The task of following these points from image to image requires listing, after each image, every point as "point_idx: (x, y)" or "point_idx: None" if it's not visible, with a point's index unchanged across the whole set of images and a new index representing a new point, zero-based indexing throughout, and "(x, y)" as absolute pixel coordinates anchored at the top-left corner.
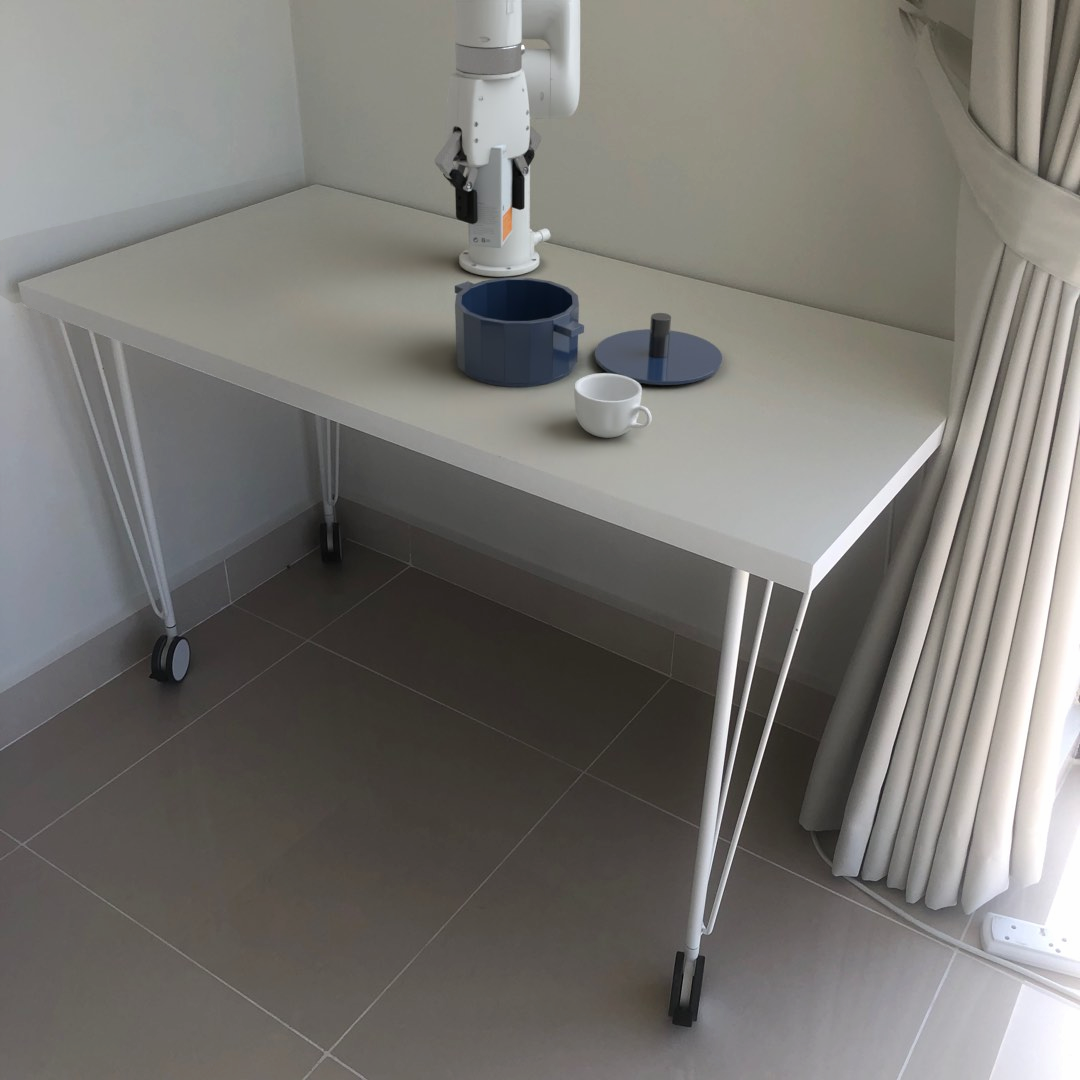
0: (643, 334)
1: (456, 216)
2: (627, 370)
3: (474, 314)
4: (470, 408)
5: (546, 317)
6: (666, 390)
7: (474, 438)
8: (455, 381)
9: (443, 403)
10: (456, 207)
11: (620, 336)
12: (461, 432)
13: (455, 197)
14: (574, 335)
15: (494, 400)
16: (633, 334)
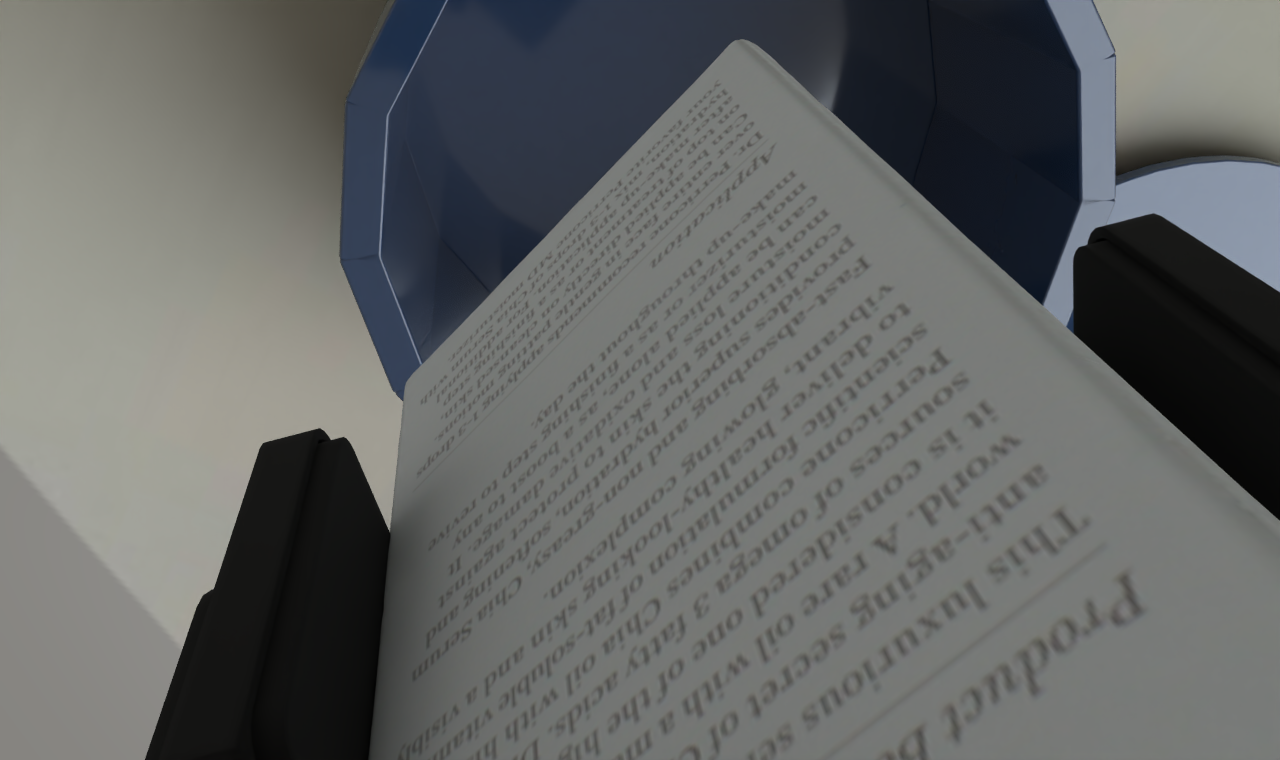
0: (1272, 225)
1: (267, 445)
2: None
3: (391, 316)
4: (269, 418)
5: (975, 21)
6: None
7: (195, 607)
8: (306, 167)
9: (174, 334)
10: (196, 639)
11: (1184, 196)
12: (164, 558)
13: (209, 605)
14: None
15: (391, 400)
16: (1242, 206)
